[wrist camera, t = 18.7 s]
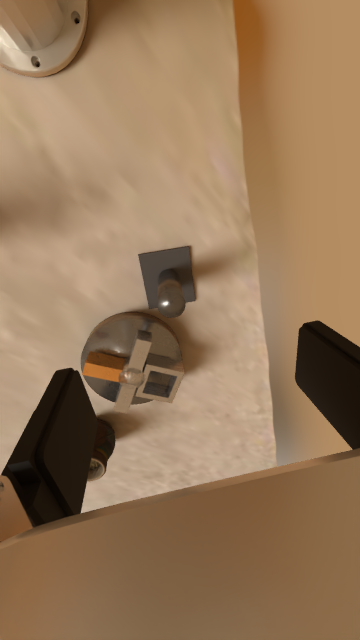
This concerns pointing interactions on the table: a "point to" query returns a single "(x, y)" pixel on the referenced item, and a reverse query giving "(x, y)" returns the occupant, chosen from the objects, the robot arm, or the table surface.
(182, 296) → the grey pestle
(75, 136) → the table surface
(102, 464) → the mate gourd
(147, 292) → the mat
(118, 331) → the chuck base
